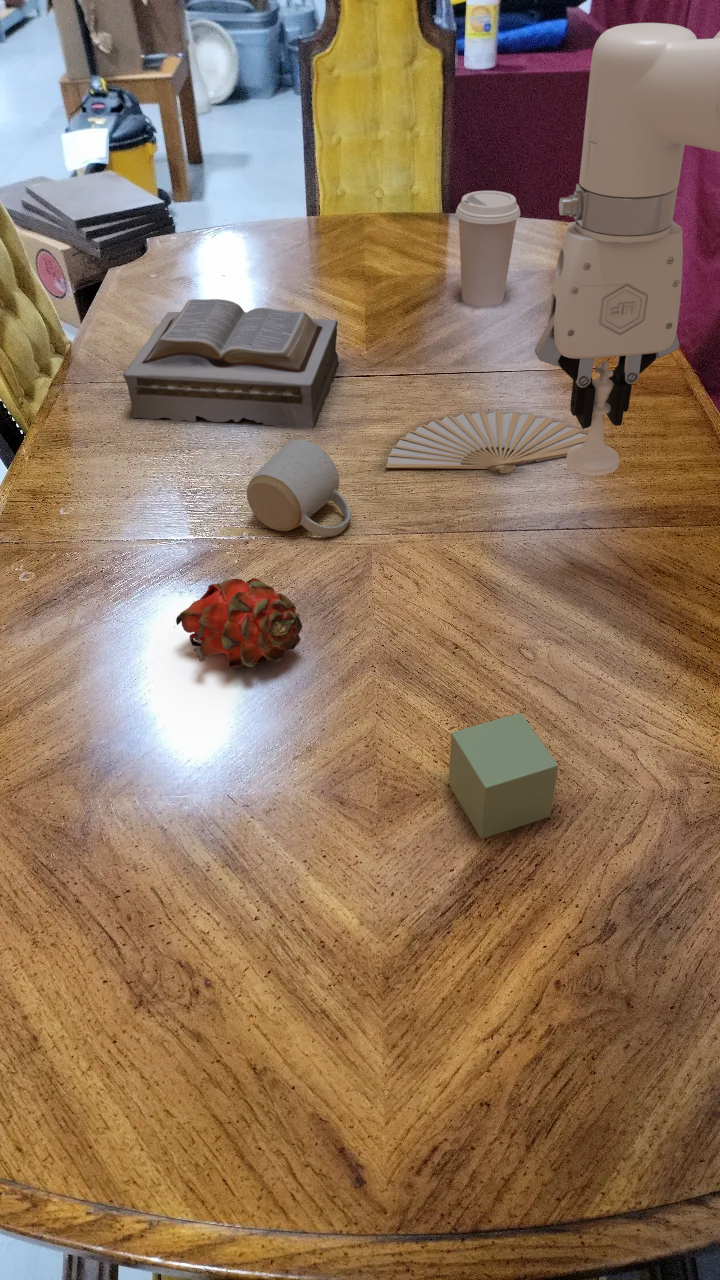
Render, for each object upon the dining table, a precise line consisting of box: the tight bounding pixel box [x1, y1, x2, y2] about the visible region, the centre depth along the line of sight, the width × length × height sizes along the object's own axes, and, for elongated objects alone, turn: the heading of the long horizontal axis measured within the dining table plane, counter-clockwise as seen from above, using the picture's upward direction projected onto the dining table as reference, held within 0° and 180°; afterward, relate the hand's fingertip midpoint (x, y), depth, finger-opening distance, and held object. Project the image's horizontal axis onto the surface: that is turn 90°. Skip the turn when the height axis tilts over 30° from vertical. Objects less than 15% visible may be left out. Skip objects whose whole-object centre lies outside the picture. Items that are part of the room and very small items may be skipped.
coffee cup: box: [455, 190, 521, 308], centre depth 150 cm, size 10×10×15 cm
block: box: [448, 712, 559, 840], centre depth 76 cm, size 6×6×6 cm
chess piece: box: [565, 360, 620, 477], centre depth 90 cm, size 5×5×10 cm
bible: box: [123, 298, 340, 430], centre depth 130 cm, size 23×27×10 cm
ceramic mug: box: [246, 438, 352, 538], centre depth 107 cm, size 11×8×8 cm
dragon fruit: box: [173, 577, 304, 670], centre depth 90 cm, size 8×8×12 cm
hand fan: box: [385, 410, 588, 475], centre depth 120 cm, size 26×1×15 cm
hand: (597, 418), depth 90 cm, fingers closed on chess piece
